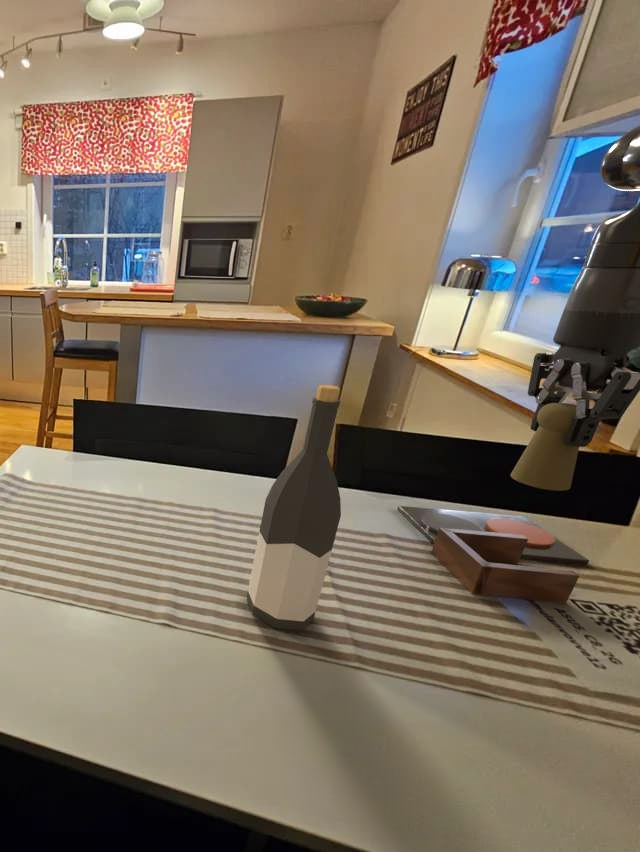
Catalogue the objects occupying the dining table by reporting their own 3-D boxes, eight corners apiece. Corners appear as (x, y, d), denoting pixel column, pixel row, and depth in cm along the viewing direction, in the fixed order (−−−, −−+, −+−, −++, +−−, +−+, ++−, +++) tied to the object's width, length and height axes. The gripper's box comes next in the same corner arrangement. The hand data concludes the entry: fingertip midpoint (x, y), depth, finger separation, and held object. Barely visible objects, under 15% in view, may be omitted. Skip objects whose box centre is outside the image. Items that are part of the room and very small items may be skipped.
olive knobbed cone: (528, 488, 66) (559, 410, 62) (500, 470, 71) (527, 397, 67) (582, 492, 65) (617, 412, 61) (550, 474, 70) (580, 400, 66)
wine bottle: (314, 603, 66) (372, 383, 55) (311, 641, 59) (374, 400, 48) (250, 584, 69) (292, 375, 58) (240, 617, 63) (284, 389, 52)
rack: (511, 560, 75) (522, 534, 74) (566, 603, 66) (579, 575, 64) (430, 552, 77) (439, 527, 76) (471, 593, 68) (482, 566, 66)
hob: (521, 519, 87) (523, 513, 87) (587, 564, 74) (591, 557, 74) (397, 509, 90) (399, 503, 90) (439, 550, 78) (442, 543, 77)
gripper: (709, 313, 52) (640, 460, 59) (594, 302, 66) (547, 423, 72) (627, 313, 54) (567, 456, 60) (529, 302, 67) (489, 420, 73)
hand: (556, 437), depth 66 cm, fingers closed on olive knobbed cone, 5 cm apart
